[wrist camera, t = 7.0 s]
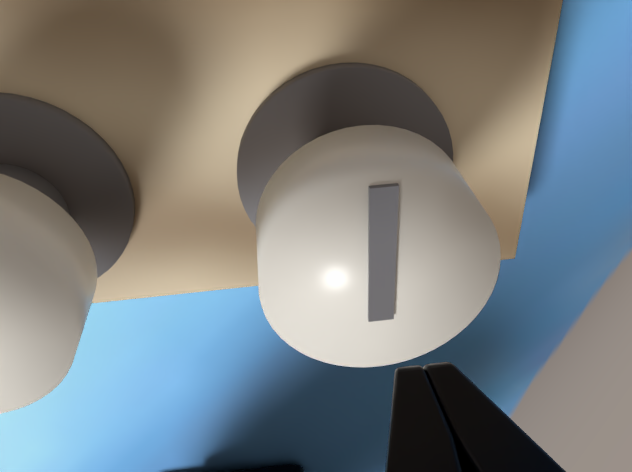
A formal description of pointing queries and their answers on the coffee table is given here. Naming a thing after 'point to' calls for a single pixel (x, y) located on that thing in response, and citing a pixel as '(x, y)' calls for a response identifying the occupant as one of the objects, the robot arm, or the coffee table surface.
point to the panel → (254, 112)
